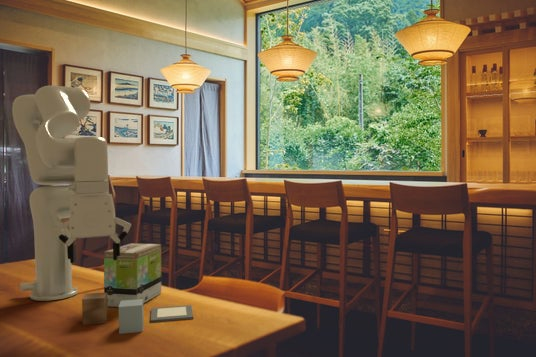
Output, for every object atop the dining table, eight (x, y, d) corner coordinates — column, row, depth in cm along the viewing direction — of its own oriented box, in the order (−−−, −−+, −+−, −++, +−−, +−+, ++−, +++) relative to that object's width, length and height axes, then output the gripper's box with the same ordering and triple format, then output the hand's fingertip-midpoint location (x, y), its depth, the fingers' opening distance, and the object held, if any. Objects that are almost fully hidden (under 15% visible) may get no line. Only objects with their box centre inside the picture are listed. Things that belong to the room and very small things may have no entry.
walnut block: (82, 324, 112) (81, 299, 112) (86, 318, 117) (85, 293, 117) (105, 323, 113) (104, 297, 113) (107, 316, 118) (107, 292, 118)
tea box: (138, 308, 124) (137, 252, 124) (103, 307, 126) (101, 251, 126) (162, 293, 139) (161, 242, 138) (130, 292, 141) (129, 242, 140)
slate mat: (150, 322, 113) (150, 319, 113) (151, 309, 123) (151, 307, 123) (193, 318, 115) (193, 316, 115) (191, 306, 125) (191, 304, 125)
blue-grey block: (119, 333, 106) (118, 306, 105) (121, 326, 110) (120, 300, 110) (142, 331, 107) (142, 305, 106) (143, 324, 112) (143, 299, 111)
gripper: (49, 190, 109) (52, 266, 109) (128, 188, 112) (131, 261, 112) (56, 189, 116) (59, 260, 116) (130, 187, 120) (133, 255, 120)
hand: (94, 260), depth 114 cm, fingers open, 9 cm apart
